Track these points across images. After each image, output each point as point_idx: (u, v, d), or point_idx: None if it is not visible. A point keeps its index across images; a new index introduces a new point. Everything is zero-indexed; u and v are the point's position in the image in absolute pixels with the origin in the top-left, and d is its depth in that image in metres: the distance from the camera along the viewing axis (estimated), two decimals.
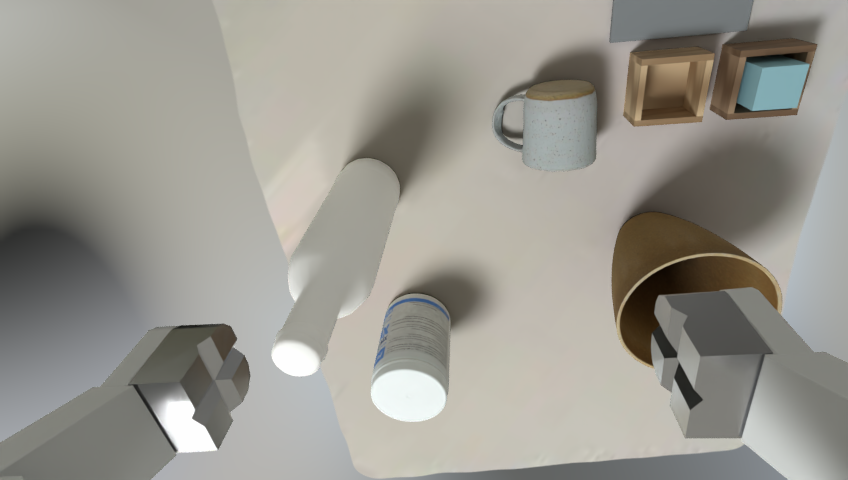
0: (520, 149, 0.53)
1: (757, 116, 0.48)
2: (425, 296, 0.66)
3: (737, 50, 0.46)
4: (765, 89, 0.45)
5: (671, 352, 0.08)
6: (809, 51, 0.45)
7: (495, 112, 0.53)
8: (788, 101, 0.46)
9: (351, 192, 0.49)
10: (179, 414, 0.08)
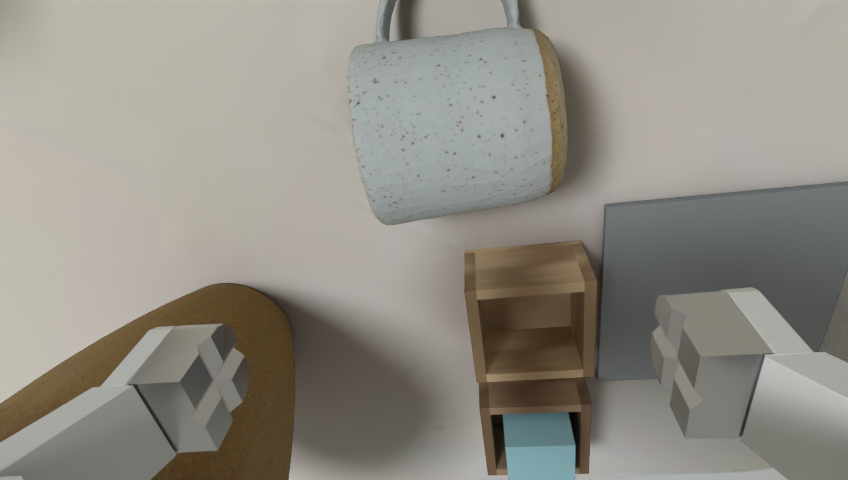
0: (382, 36, 0.20)
1: (485, 439, 0.31)
2: None
3: (587, 394, 0.29)
4: (540, 454, 0.28)
5: (671, 352, 0.08)
6: (579, 467, 0.32)
7: None
8: (519, 479, 0.30)
9: None
10: (179, 414, 0.08)
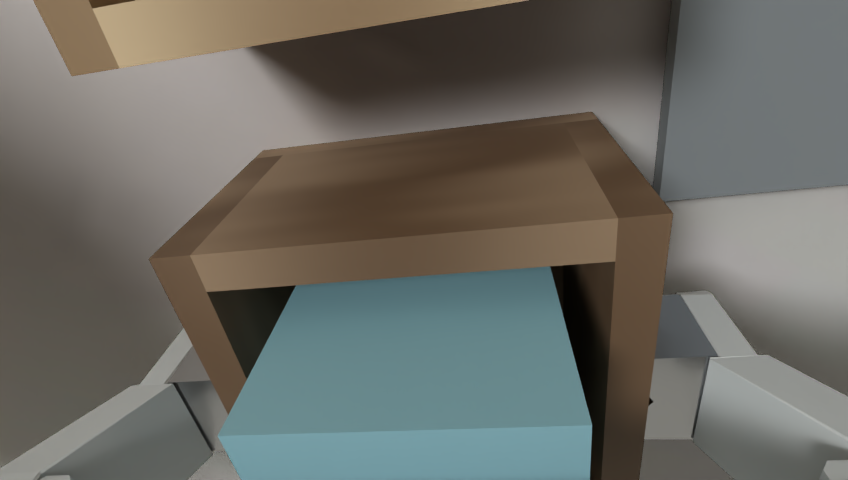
0: None
1: None
2: None
3: (645, 186, 0.06)
4: (407, 472, 0.05)
5: None
6: None
7: None
8: None
9: None
10: (218, 412, 0.08)
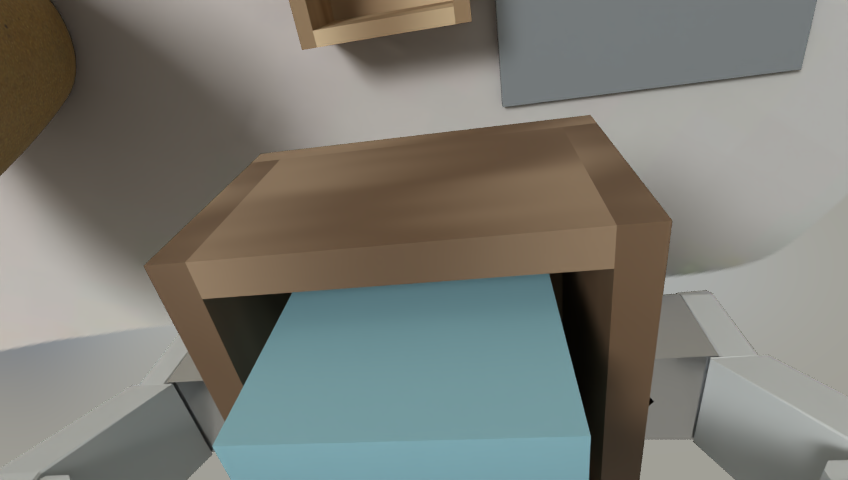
0: None
1: (227, 416, 0.08)
2: None
3: (643, 192, 0.06)
4: None
5: None
6: None
7: None
8: None
9: None
10: (217, 412, 0.08)
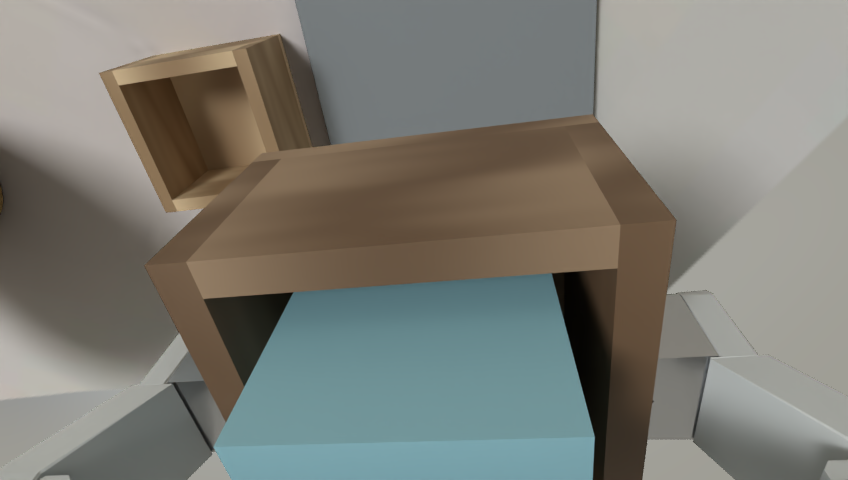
0: None
1: (228, 416, 0.08)
2: None
3: (646, 191, 0.06)
4: None
5: None
6: None
7: None
8: None
9: None
10: (217, 412, 0.08)
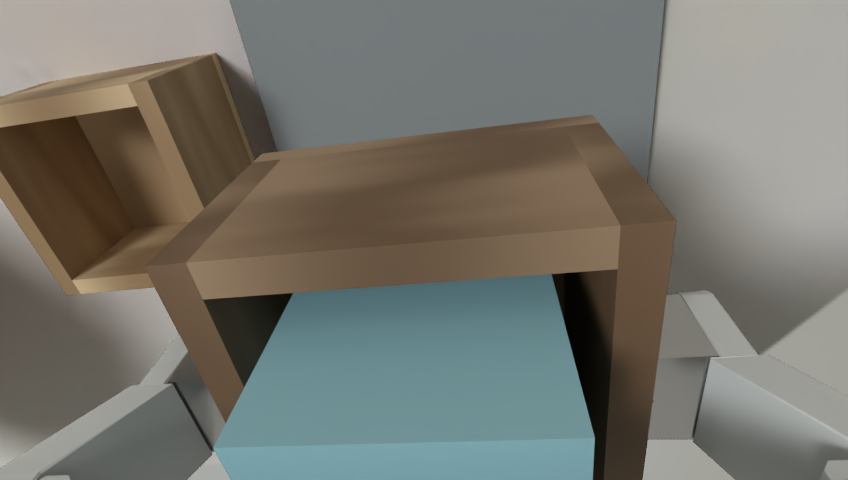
0: None
1: (228, 417, 0.08)
2: None
3: (647, 192, 0.06)
4: None
5: None
6: None
7: None
8: None
9: None
10: (217, 412, 0.08)
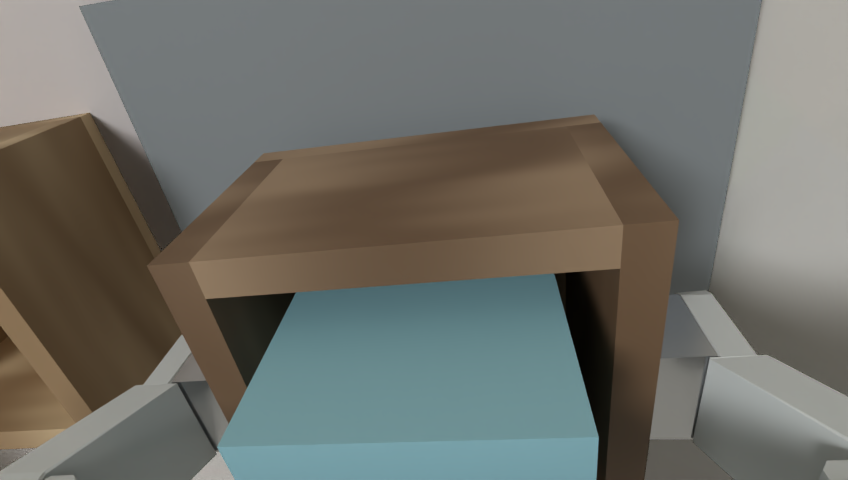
0: None
1: (230, 416, 0.08)
2: None
3: (650, 192, 0.06)
4: None
5: None
6: None
7: None
8: None
9: None
10: (221, 412, 0.08)
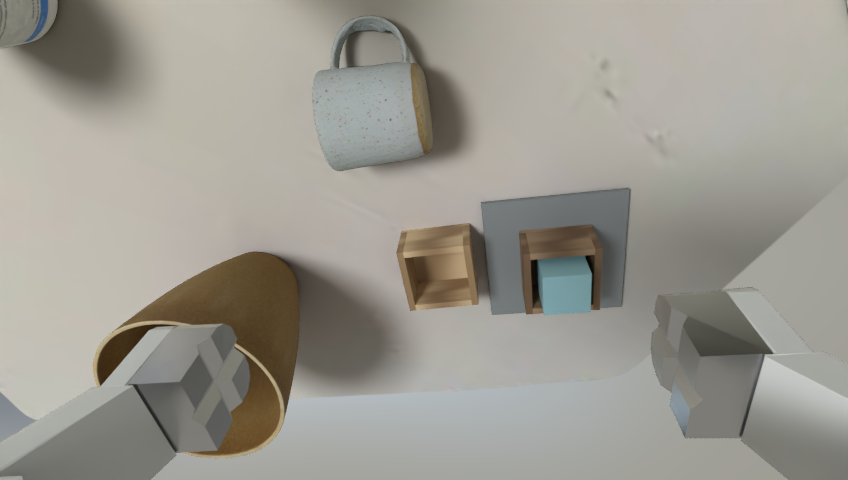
0: (333, 65, 0.36)
1: (526, 282, 0.43)
2: None
3: (599, 243, 0.41)
4: (567, 282, 0.40)
5: (671, 352, 0.08)
6: (592, 305, 0.44)
7: (381, 19, 0.36)
8: (551, 306, 0.42)
9: None
10: (179, 414, 0.08)
